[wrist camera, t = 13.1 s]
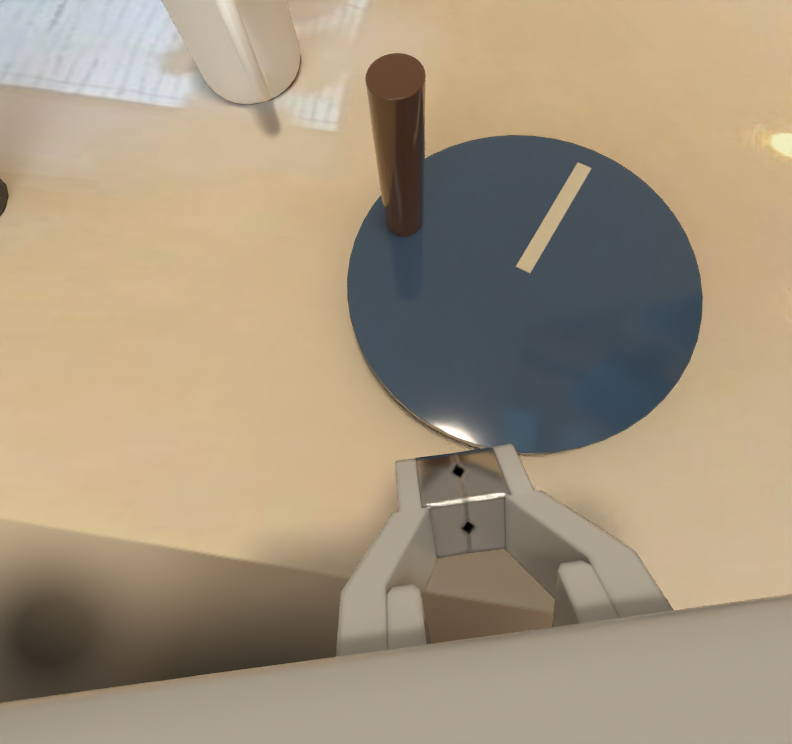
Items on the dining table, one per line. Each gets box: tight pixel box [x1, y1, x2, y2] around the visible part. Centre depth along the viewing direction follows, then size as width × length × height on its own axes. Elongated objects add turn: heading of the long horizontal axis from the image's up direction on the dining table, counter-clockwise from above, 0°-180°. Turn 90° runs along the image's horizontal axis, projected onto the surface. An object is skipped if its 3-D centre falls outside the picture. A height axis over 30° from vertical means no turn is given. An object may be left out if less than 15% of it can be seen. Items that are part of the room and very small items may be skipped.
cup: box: [161, 0, 300, 104], centre depth 28 cm, size 8×12×10 cm
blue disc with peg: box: [347, 53, 703, 454], centre depth 21 cm, size 22×22×11 cm
